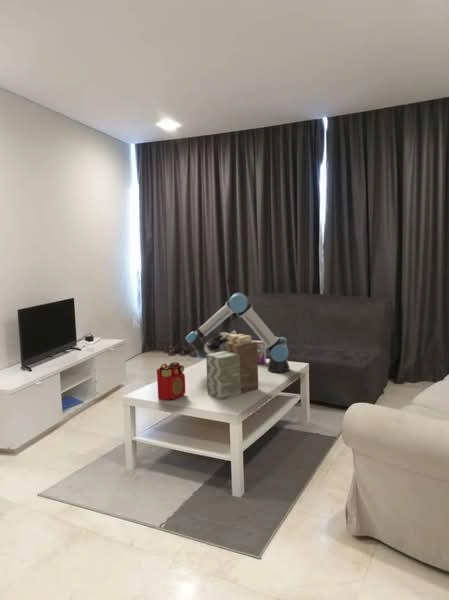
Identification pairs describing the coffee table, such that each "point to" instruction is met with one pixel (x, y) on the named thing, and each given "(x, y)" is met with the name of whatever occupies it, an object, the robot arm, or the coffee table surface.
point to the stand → (232, 370)
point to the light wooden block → (238, 338)
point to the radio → (170, 381)
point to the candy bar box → (261, 352)
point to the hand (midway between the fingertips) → (230, 333)
